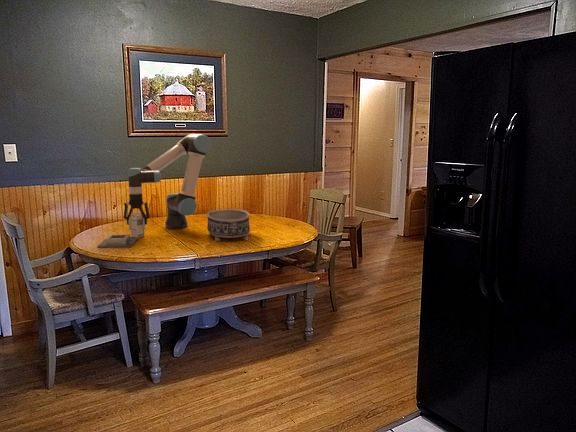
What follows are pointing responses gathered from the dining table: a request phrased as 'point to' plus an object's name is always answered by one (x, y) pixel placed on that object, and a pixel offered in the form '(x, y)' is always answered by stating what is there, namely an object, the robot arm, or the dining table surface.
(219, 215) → the decorative bowl
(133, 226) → the syrup box
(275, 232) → the dining table surface
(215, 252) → the dining table surface
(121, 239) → the mount plate
